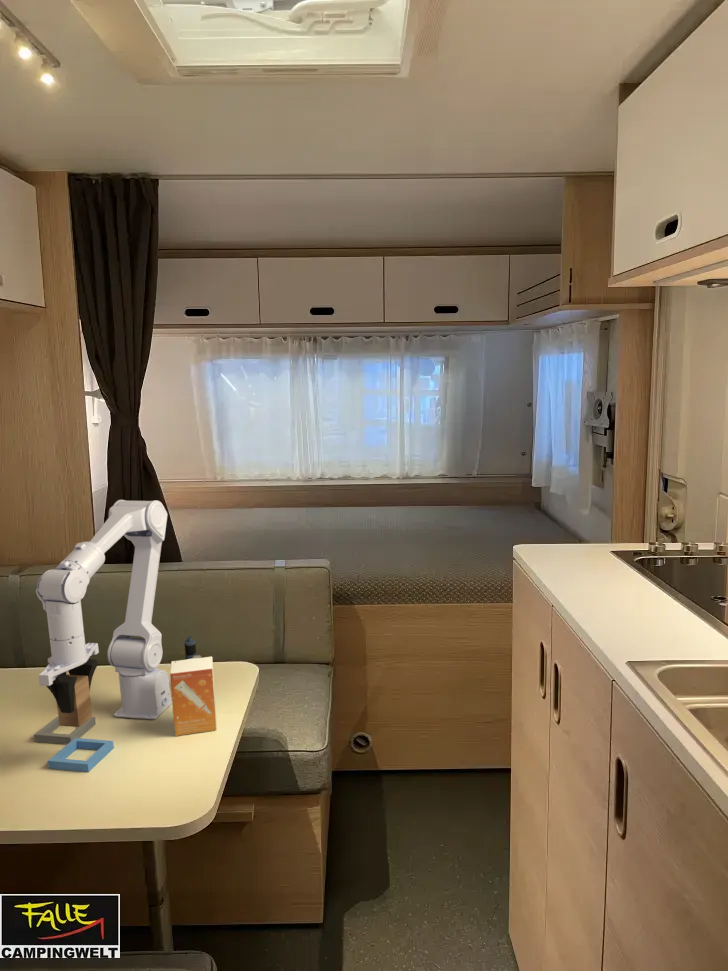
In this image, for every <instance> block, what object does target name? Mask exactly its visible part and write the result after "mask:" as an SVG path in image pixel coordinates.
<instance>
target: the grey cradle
mask: <svg viewBox="0 0 728 971" xmlns="http://www.w3.org/2000/svg"><path fill="white" fill-rule="evenodd" d="M95 725H96V717H95V716H92V717H91V718H90V719H89V720H87V721H86V722H85V723H84V724H83V725H81V726H80V727H75V729H74V730H72V731H71V732H70V733H69V734H68V733H67V734H66V733H56V732H55V730H56V729H58V728H59V727H61V726H60V725H59V716H58V715H57V716H56V717H55V718H54V719H52V720H50V722H48V723H47V724H46V725H45V726H42V728H40V729H39V730H38V731H36V732H35V733H34V734H33V738H34V743H46V744H59V745H67V744H68V743H70V742H71V741H72V740H73V739H74V738H82V736H84V735H85V734H86V733H87V732H88V731H89V730H91V729H92V728H93V727H94V726H95ZM53 732H54V733H53Z"/></svg>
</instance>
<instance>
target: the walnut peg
mask: <svg viewBox="0 0 728 971" xmlns="http://www.w3.org/2000/svg"><path fill="white" fill-rule="evenodd" d="M68 675H69V677H77V679H76V682H75V686H74V708H73V712H72V713H61V711H60V708H59V706H58V704H57V703H56V705H57V716H59V725H60V726H59V727H73V728H78V727H80V726H81V725H83V724H84V723H85V722H86V721H87V720H89V719H90V718H91V717H93V710H92V701H91V693H90V692H91V691H90V690H91V689H90V690H89V681H88V676H83V675H70V674H68Z"/></svg>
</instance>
